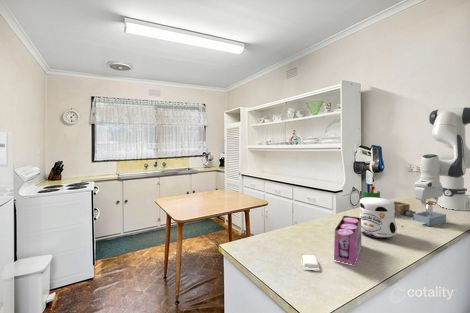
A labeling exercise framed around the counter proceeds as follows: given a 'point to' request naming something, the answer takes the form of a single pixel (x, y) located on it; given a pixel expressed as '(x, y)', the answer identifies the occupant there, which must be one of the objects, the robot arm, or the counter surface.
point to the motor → (371, 193)
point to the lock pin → (429, 209)
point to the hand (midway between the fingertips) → (429, 205)
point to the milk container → (377, 217)
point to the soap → (310, 261)
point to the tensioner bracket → (403, 210)
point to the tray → (433, 221)
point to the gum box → (347, 240)
